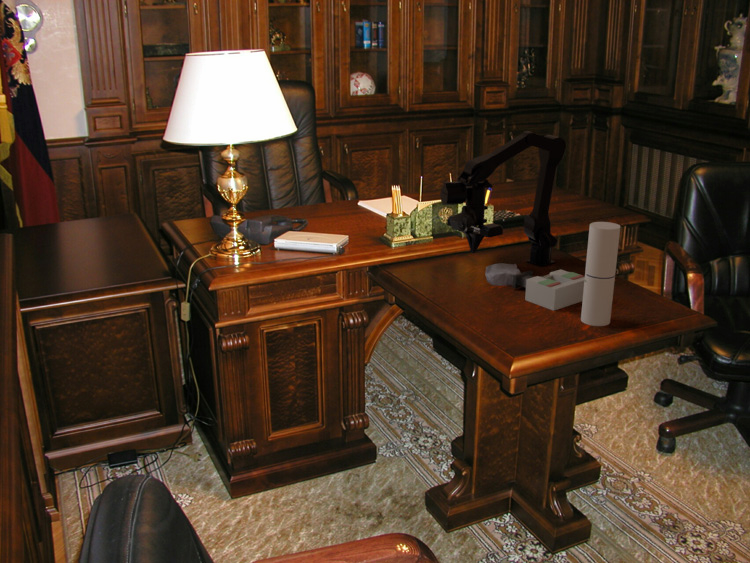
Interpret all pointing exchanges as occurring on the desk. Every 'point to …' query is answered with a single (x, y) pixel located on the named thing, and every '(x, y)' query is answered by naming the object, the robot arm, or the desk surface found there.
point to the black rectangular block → (525, 278)
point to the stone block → (501, 274)
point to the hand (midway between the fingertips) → (473, 252)
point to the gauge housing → (555, 290)
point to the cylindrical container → (600, 273)
